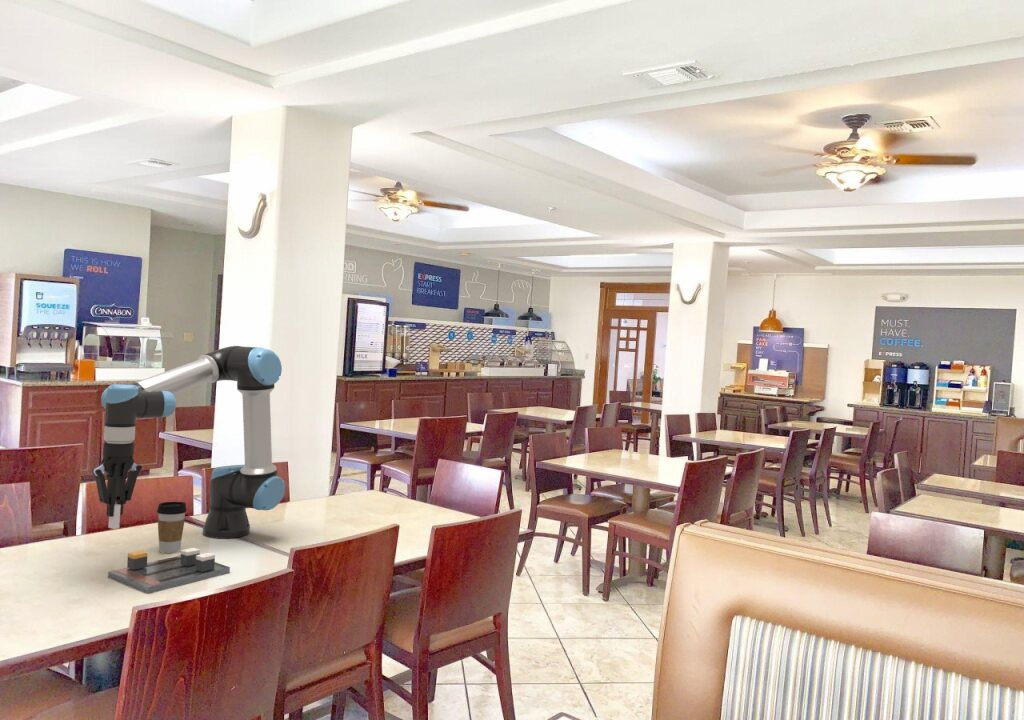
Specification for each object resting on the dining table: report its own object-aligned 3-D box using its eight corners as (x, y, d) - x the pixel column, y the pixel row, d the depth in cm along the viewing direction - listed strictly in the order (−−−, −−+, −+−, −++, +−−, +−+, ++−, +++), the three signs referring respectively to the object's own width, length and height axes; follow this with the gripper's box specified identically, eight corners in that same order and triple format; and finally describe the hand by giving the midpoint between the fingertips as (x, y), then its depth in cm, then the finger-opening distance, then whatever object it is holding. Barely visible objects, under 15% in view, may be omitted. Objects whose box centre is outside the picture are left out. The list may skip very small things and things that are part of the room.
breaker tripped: (140, 564, 217) (141, 550, 216) (146, 566, 215) (147, 552, 215) (127, 567, 213) (128, 553, 213) (133, 569, 212) (134, 555, 211)
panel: (189, 558, 231) (189, 553, 231) (229, 572, 220) (229, 566, 220) (107, 577, 210) (108, 571, 210) (147, 593, 199) (148, 587, 199)
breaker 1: (192, 561, 223) (193, 547, 222) (199, 563, 221) (199, 549, 221) (180, 564, 219) (181, 550, 219) (186, 566, 218) (187, 552, 217)
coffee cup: (173, 556, 232) (175, 507, 232) (148, 552, 234) (151, 504, 233) (190, 549, 240) (192, 501, 240) (166, 545, 242) (168, 498, 242)
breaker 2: (207, 566, 219) (208, 552, 219) (214, 568, 217) (215, 554, 217) (195, 569, 215) (196, 555, 215) (201, 571, 214) (202, 557, 214)
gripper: (134, 438, 215) (129, 521, 215) (87, 441, 204) (82, 529, 204) (149, 441, 211) (144, 526, 211) (102, 445, 200) (97, 534, 200)
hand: (113, 527), depth 208 cm, fingers closed
